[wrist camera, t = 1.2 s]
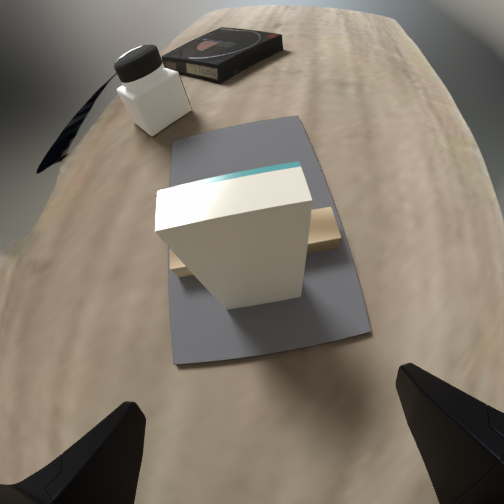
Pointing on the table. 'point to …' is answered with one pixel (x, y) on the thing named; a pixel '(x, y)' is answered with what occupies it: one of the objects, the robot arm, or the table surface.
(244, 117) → the table surface
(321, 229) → the ledge
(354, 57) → the table surface
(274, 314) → the mat
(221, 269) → the tile
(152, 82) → the medicine bottle
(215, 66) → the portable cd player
